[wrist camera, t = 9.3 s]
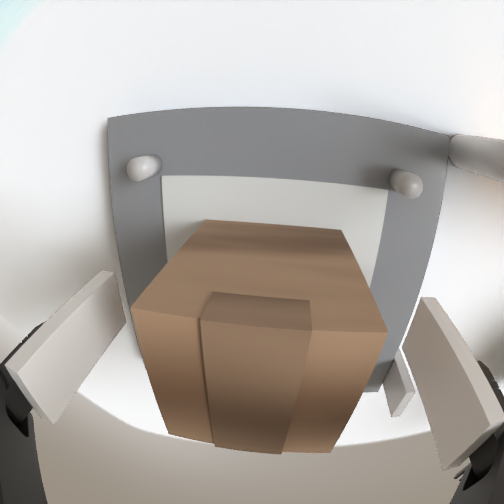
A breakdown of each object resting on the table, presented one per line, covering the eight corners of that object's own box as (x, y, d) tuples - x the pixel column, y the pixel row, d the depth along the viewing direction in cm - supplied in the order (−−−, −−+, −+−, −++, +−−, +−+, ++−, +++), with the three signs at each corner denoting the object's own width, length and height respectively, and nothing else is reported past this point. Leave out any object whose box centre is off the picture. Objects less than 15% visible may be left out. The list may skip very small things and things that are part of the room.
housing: (120, 110, 12) (16, 113, 6) (474, 139, 10) (570, 159, 4) (152, 358, 19) (112, 433, 12) (404, 377, 17) (428, 456, 11)
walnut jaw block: (206, 218, 13) (128, 308, 6) (341, 228, 12) (390, 333, 6) (210, 327, 15) (168, 436, 9) (321, 337, 14) (329, 455, 8)
